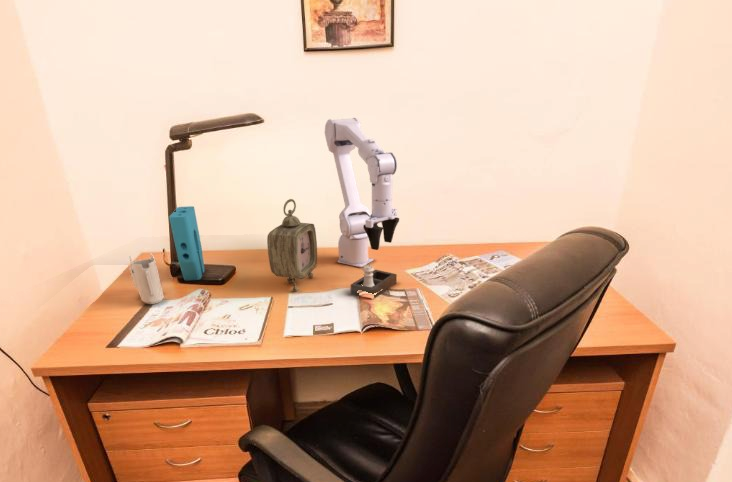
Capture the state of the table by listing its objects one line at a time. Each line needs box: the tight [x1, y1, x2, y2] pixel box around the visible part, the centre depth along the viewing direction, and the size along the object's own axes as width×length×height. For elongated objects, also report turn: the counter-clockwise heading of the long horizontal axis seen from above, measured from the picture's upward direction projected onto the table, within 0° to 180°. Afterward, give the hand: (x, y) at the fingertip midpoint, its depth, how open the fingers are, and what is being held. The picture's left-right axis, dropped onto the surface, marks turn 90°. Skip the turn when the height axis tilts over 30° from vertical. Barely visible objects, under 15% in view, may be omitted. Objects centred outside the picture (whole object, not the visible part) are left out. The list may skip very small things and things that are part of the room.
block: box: [168, 205, 205, 281], centre depth 148 cm, size 12×5×20 cm, turn 6°
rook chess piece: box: [362, 264, 375, 288], centre depth 138 cm, size 4×4×8 cm
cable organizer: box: [128, 252, 165, 305], centre depth 135 cm, size 7×12×12 cm, turn 29°
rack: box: [350, 269, 398, 299], centre depth 142 cm, size 14×7×3 cm, turn 148°
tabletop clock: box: [266, 198, 318, 293], centre depth 140 cm, size 14×9×25 cm, turn 161°
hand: (381, 245), depth 144 cm, fingers open, 7 cm apart
